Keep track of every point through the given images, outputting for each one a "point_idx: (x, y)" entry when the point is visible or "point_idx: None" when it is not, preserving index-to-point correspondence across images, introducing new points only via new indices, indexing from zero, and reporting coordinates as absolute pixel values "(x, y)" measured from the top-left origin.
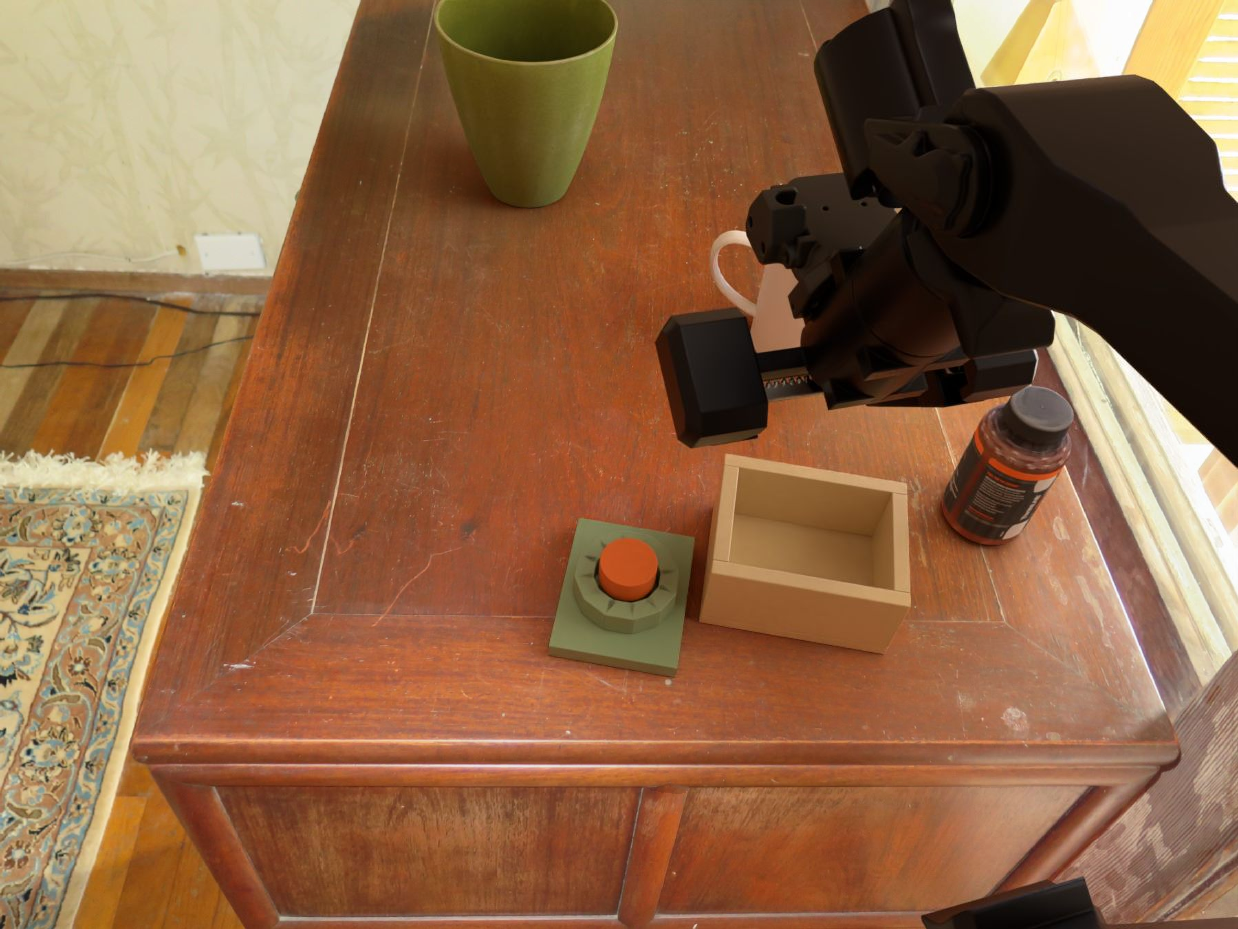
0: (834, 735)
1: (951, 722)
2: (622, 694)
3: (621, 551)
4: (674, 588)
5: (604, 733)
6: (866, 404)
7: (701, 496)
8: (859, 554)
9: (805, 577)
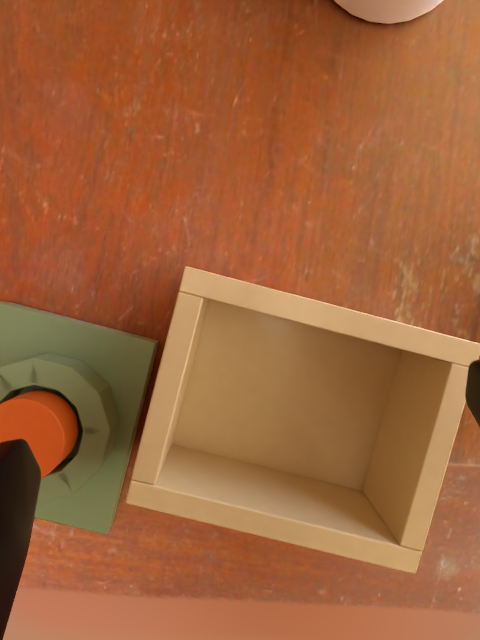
0: (285, 599)
1: (422, 591)
2: (49, 539)
3: (11, 423)
4: (98, 459)
5: (25, 584)
6: (469, 406)
7: (183, 256)
8: (376, 375)
9: (269, 518)
